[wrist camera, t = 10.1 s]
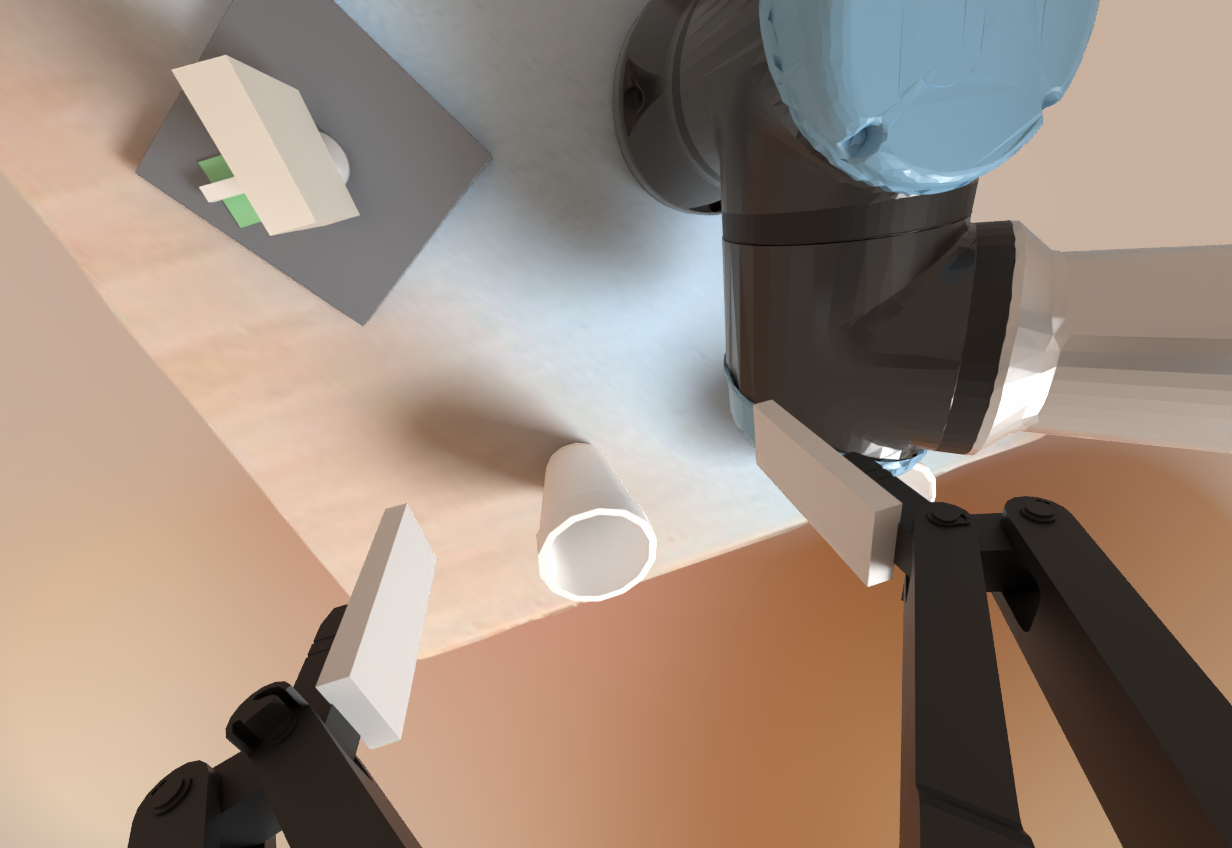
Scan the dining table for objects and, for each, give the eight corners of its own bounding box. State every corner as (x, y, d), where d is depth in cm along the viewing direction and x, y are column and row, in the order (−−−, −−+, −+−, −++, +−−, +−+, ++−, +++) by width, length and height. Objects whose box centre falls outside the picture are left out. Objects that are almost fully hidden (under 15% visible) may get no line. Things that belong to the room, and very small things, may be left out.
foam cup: (527, 432, 44) (534, 515, 33) (621, 424, 46) (659, 500, 34) (534, 512, 48) (543, 610, 37) (620, 501, 50) (653, 592, 39)
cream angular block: (177, 133, 28) (29, 107, 20) (320, 93, 29) (239, 51, 20) (249, 249, 32) (151, 270, 23) (376, 211, 32) (327, 218, 24)
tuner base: (280, -51, 27) (266, -65, 25) (492, 156, 34) (491, 154, 32) (151, 173, 30) (132, 172, 29) (368, 321, 37) (362, 326, 35)
